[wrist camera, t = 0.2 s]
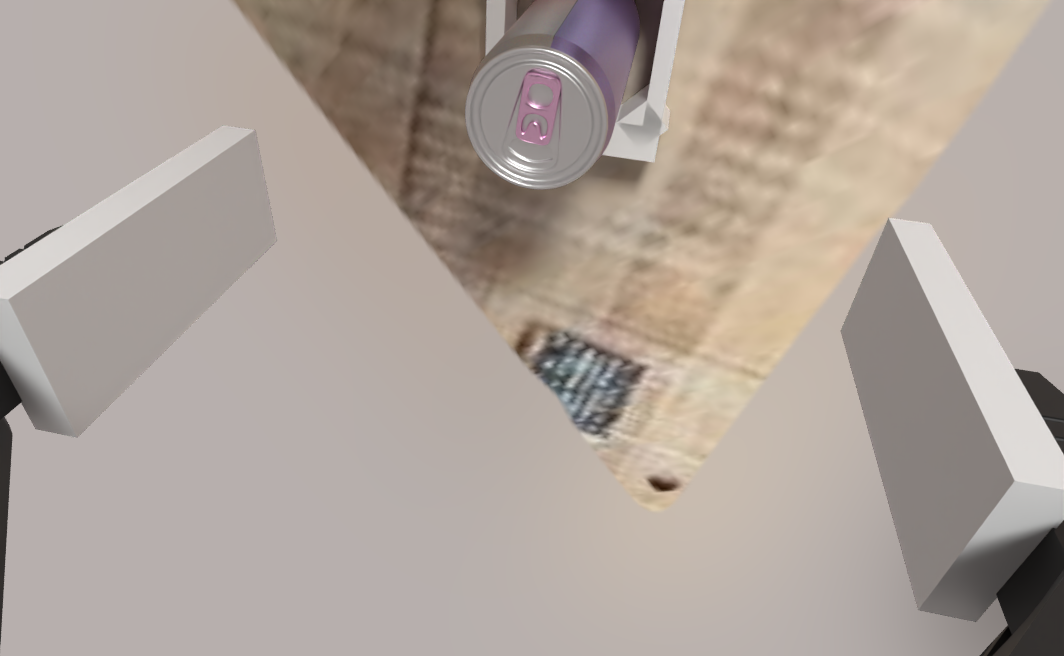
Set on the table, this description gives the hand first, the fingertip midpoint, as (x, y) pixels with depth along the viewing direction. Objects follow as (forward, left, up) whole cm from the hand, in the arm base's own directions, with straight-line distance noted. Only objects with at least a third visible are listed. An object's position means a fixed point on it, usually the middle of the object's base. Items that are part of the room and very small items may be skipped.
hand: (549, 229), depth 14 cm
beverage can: (+3, -3, -28) cm, 28 cm away
